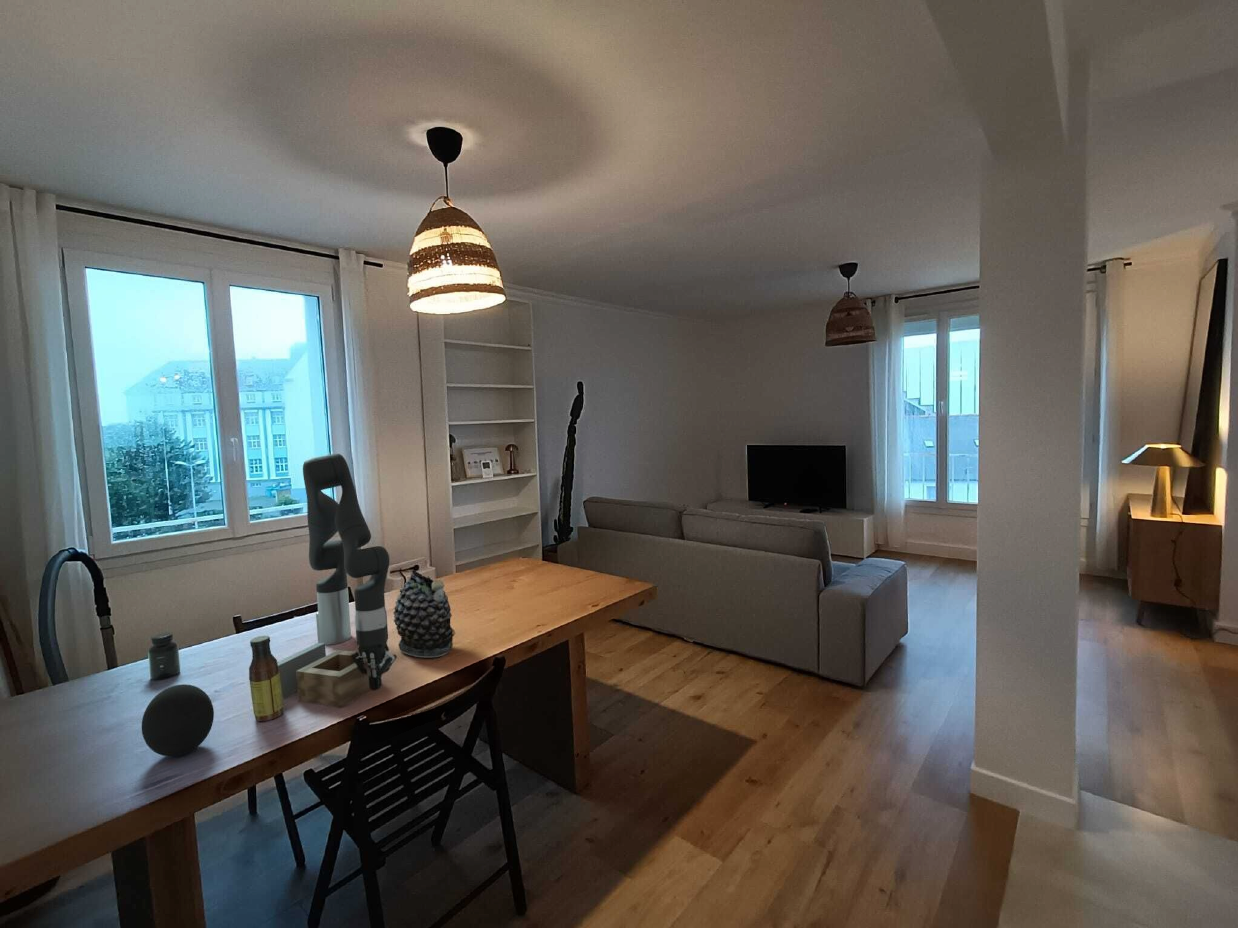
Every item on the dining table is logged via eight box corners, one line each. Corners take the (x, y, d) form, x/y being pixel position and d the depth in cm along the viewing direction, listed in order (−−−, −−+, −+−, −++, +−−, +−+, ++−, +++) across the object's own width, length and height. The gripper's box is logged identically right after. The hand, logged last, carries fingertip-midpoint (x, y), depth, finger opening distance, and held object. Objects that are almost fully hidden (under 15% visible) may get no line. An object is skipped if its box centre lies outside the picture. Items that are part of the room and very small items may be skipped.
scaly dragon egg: (467, 647, 177) (463, 569, 175) (429, 666, 164) (424, 582, 162) (422, 636, 188) (418, 563, 186) (383, 653, 175) (378, 574, 173)
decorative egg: (223, 750, 124) (217, 684, 123) (151, 777, 114) (144, 706, 113) (208, 731, 132) (203, 669, 131) (140, 755, 123) (133, 688, 122)
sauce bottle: (278, 707, 142) (272, 630, 141) (288, 714, 138) (281, 636, 137) (248, 718, 137) (242, 639, 136) (258, 726, 133) (251, 644, 132)
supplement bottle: (145, 682, 160) (141, 641, 159) (158, 672, 166) (154, 632, 165) (173, 678, 162) (169, 637, 161) (184, 668, 168) (181, 629, 167)
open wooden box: (298, 701, 145) (296, 670, 145) (340, 677, 159) (338, 649, 158) (341, 707, 141) (339, 676, 140) (381, 682, 154) (379, 654, 154)
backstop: (271, 699, 147) (268, 665, 146) (320, 672, 162) (318, 642, 161) (278, 700, 146) (275, 666, 145) (327, 673, 161) (324, 643, 160)
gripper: (339, 627, 144) (344, 693, 145) (382, 631, 140) (387, 698, 141) (361, 617, 151) (365, 680, 152) (402, 621, 147) (406, 685, 148)
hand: (375, 689), depth 146 cm, fingers closed
